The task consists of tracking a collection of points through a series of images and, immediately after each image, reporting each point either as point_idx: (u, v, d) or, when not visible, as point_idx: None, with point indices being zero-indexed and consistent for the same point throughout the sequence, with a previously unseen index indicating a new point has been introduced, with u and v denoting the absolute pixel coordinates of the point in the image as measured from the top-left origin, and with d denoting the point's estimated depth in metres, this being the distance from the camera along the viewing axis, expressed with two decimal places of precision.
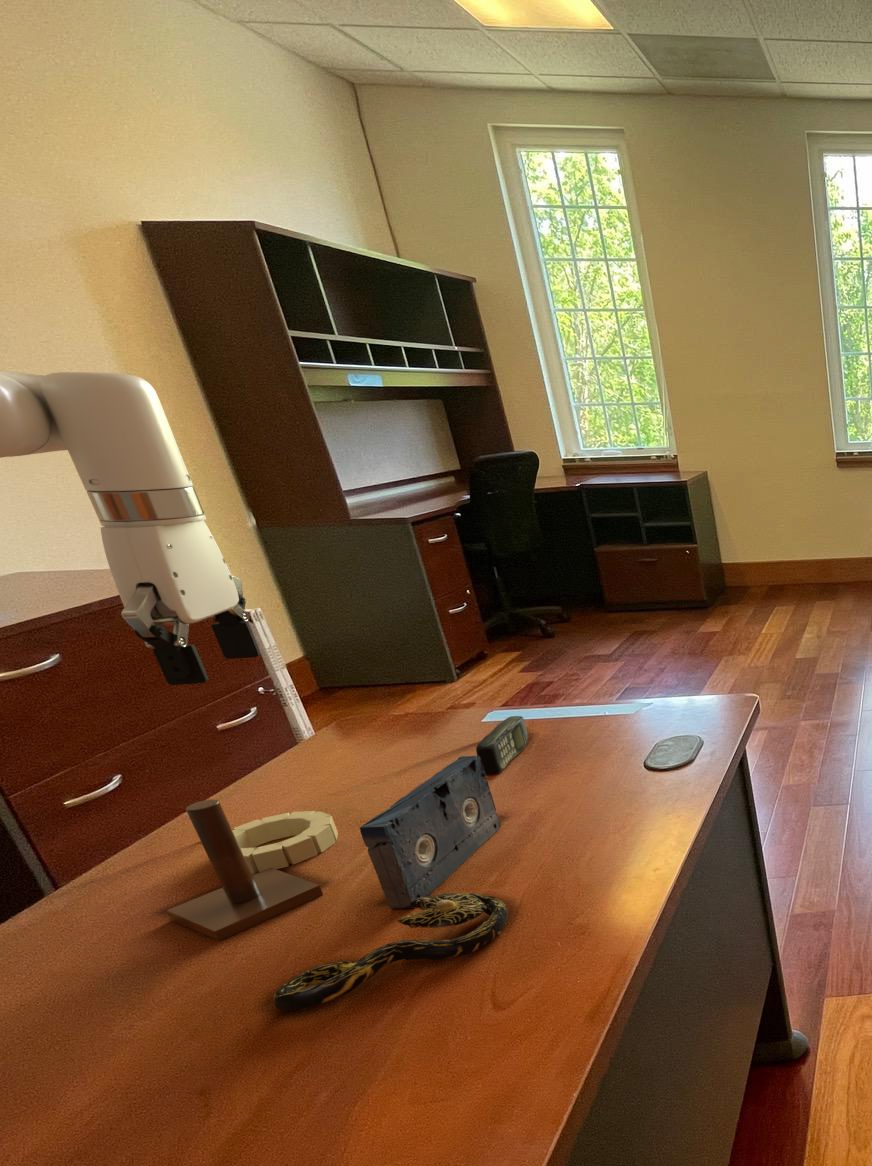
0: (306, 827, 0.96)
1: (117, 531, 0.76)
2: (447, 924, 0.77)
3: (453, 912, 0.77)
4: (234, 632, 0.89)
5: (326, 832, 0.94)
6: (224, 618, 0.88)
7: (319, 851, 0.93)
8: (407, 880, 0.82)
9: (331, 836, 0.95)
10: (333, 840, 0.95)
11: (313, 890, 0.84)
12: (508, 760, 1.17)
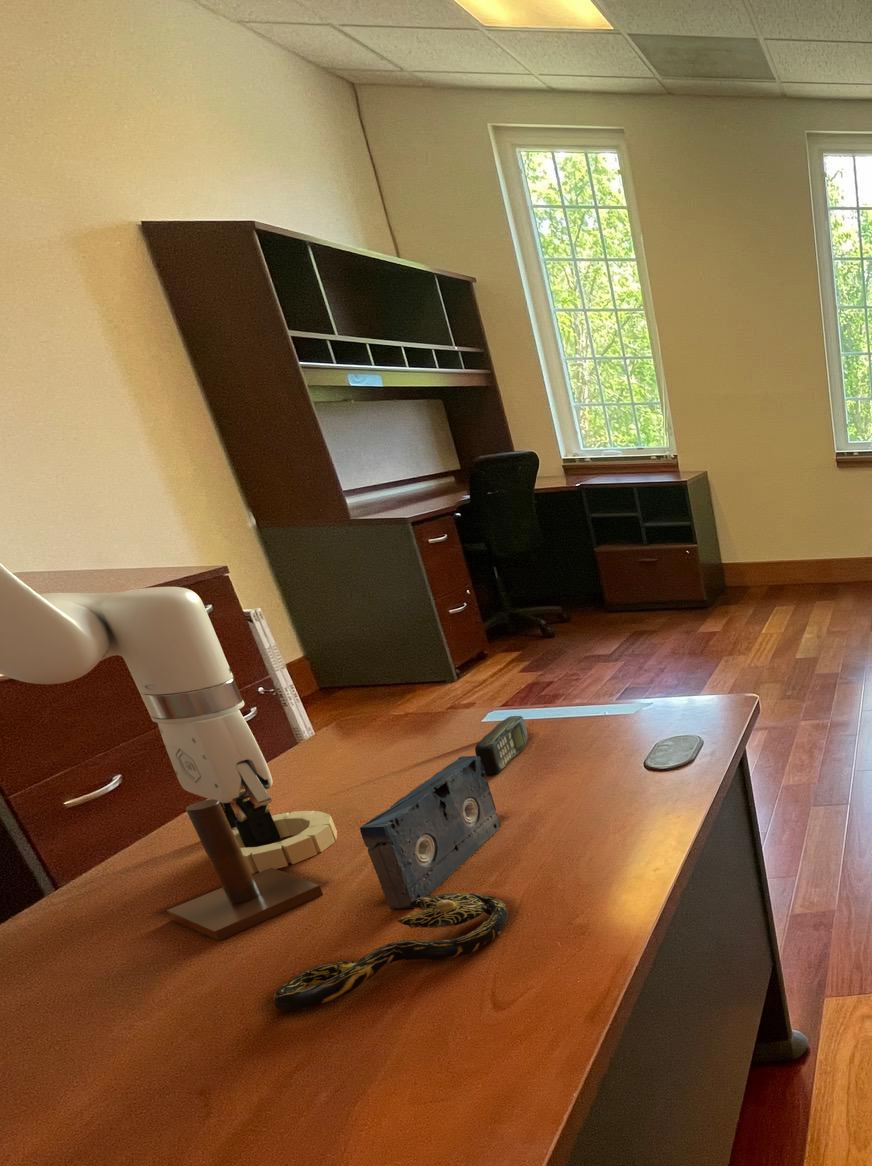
0: (305, 827, 0.97)
1: (215, 722, 0.87)
2: (447, 924, 0.77)
3: (453, 912, 0.77)
4: None
5: (325, 832, 0.94)
6: None
7: (318, 851, 0.93)
8: (407, 881, 0.82)
9: (330, 836, 0.95)
10: (332, 840, 0.95)
11: (313, 890, 0.84)
12: (507, 760, 1.17)
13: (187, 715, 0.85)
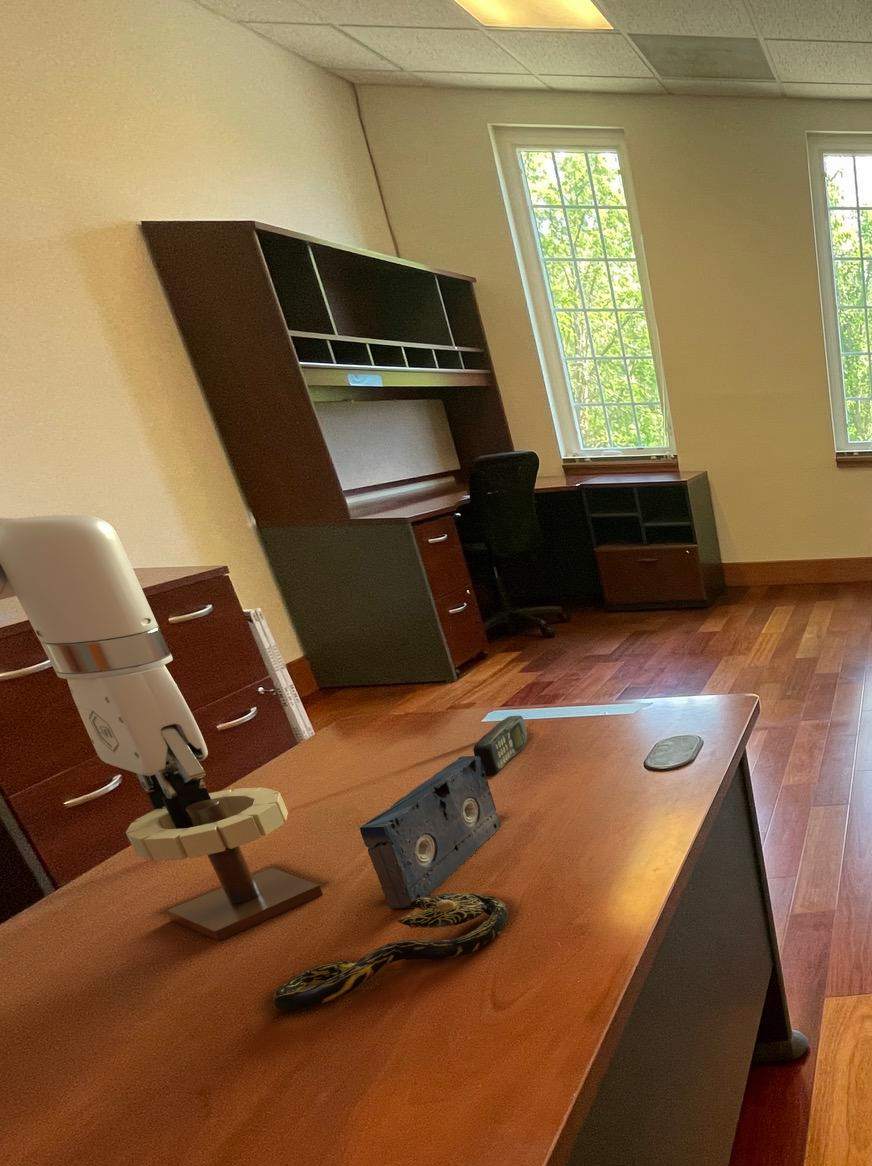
0: (250, 806, 0.82)
1: (134, 678, 0.72)
2: (447, 924, 0.77)
3: (453, 912, 0.77)
4: None
5: (272, 811, 0.80)
6: None
7: (263, 833, 0.79)
8: (407, 881, 0.82)
9: (278, 816, 0.81)
10: (281, 821, 0.81)
11: (313, 890, 0.84)
12: (506, 760, 1.17)
13: (98, 669, 0.71)
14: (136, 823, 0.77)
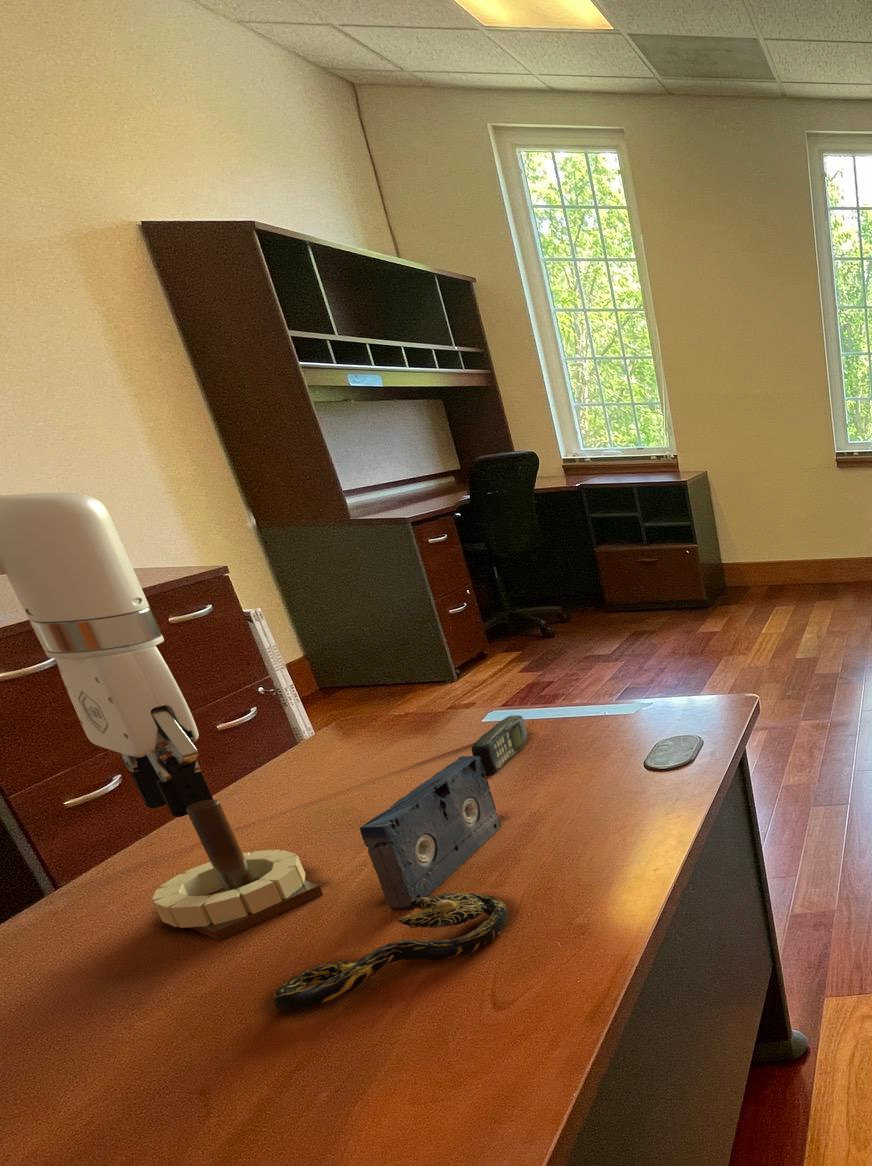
0: (269, 869, 0.86)
1: (124, 658, 0.72)
2: (447, 924, 0.77)
3: (453, 912, 0.77)
4: None
5: (291, 875, 0.83)
6: (145, 759, 0.79)
7: (283, 897, 0.82)
8: (407, 881, 0.82)
9: (297, 879, 0.84)
10: (299, 884, 0.84)
11: (313, 890, 0.84)
12: (504, 760, 1.17)
13: (88, 648, 0.71)
14: (161, 890, 0.80)
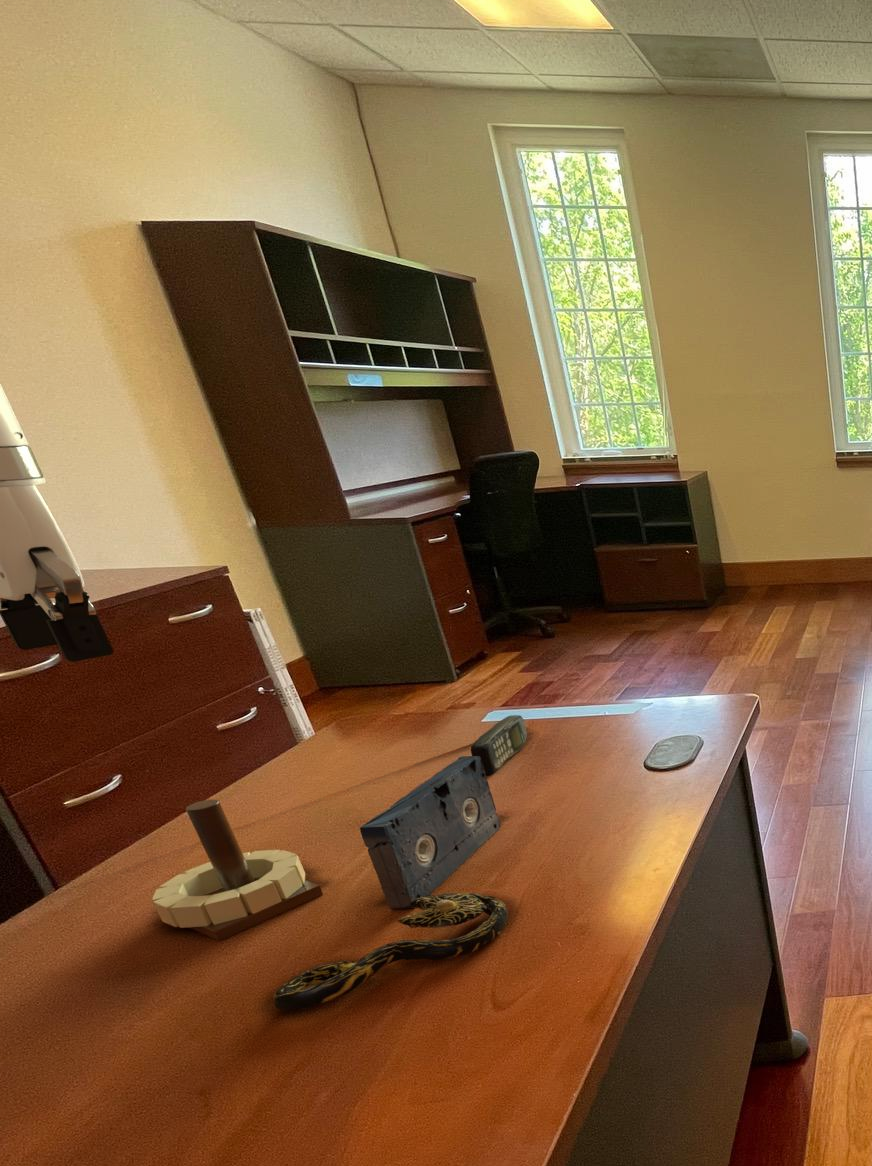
0: (269, 869, 0.86)
1: None
2: (447, 924, 0.77)
3: (453, 912, 0.77)
4: (35, 616, 0.78)
5: (291, 875, 0.83)
6: (17, 601, 0.77)
7: (283, 897, 0.82)
8: (407, 881, 0.82)
9: (297, 879, 0.84)
10: (299, 884, 0.84)
11: (313, 890, 0.84)
12: (504, 759, 1.17)
13: None
14: (161, 890, 0.80)
